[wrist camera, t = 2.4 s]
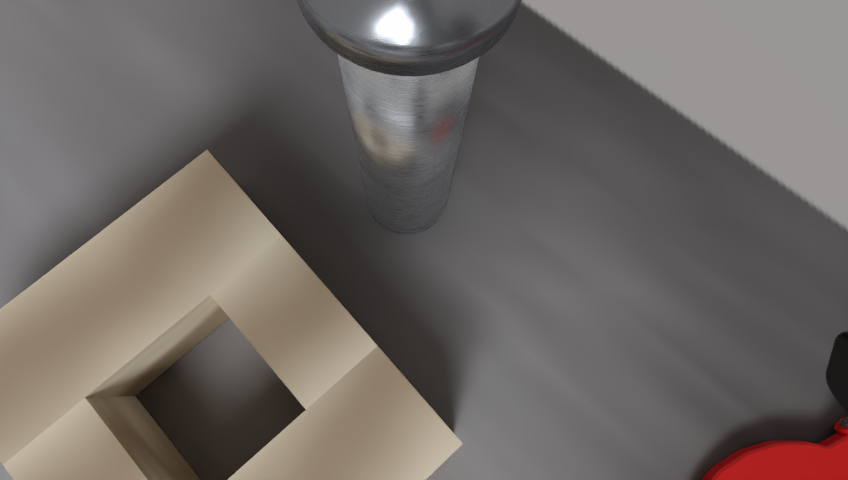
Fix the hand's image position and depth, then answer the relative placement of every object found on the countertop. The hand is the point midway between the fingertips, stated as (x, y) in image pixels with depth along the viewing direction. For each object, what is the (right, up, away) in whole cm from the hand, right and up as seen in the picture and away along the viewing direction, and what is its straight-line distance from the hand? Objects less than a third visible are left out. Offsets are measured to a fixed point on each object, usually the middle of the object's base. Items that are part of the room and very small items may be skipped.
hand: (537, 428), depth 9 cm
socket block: (-8, -3, +13) cm, 16 cm away
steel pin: (-2, +4, +15) cm, 16 cm away
